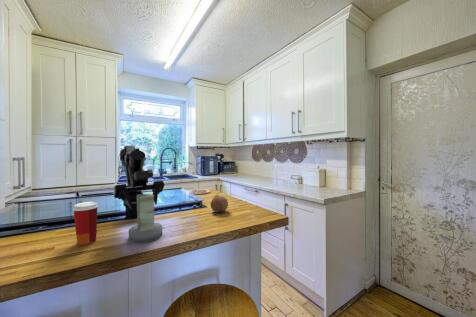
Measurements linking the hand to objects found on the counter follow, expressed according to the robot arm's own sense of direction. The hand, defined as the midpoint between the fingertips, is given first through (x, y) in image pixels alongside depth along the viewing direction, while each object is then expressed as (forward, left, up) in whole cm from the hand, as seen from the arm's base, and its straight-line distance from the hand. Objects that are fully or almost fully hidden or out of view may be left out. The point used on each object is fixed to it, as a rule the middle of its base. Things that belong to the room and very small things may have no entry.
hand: (144, 206), depth 83 cm
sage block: (+1, -2, -8) cm, 8 cm away
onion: (+32, +23, -12) cm, 41 cm away
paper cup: (-19, -4, -11) cm, 23 cm away
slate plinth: (+1, -2, -11) cm, 11 cm away
